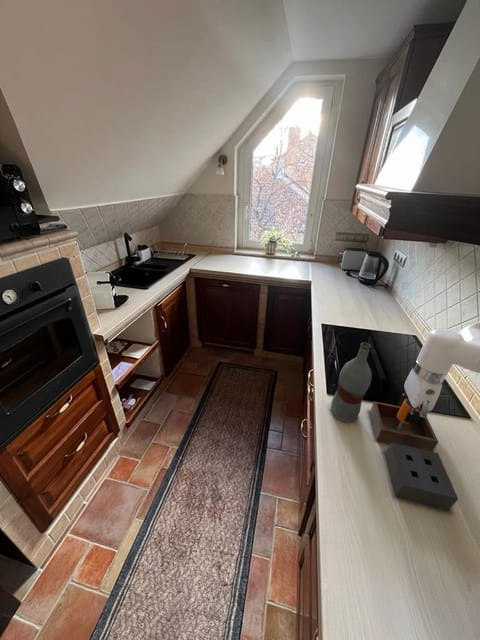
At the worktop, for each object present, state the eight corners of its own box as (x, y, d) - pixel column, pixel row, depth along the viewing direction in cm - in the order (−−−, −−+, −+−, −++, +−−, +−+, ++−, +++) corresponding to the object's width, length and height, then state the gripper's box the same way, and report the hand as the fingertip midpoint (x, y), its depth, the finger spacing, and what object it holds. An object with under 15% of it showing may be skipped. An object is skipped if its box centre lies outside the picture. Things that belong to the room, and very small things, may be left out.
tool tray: (417, 422, 87) (424, 411, 84) (430, 453, 78) (438, 441, 75) (369, 412, 91) (374, 401, 88) (375, 441, 81) (381, 429, 78)
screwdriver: (402, 426, 85) (417, 398, 78) (406, 436, 82) (421, 408, 75) (389, 423, 86) (403, 395, 79) (392, 433, 82) (407, 405, 76)
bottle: (329, 420, 88) (350, 350, 72) (329, 400, 95) (348, 333, 80) (358, 427, 85) (386, 356, 70) (356, 406, 93) (380, 339, 78)
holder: (429, 465, 75) (438, 452, 72) (447, 511, 64) (458, 499, 61) (384, 454, 77) (390, 442, 74) (395, 497, 67) (403, 485, 64)
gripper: (459, 395, 63) (430, 441, 72) (432, 354, 77) (411, 396, 86) (425, 389, 64) (401, 434, 73) (405, 350, 79) (387, 392, 88)
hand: (406, 413), depth 80 cm, fingers open, 5 cm apart
